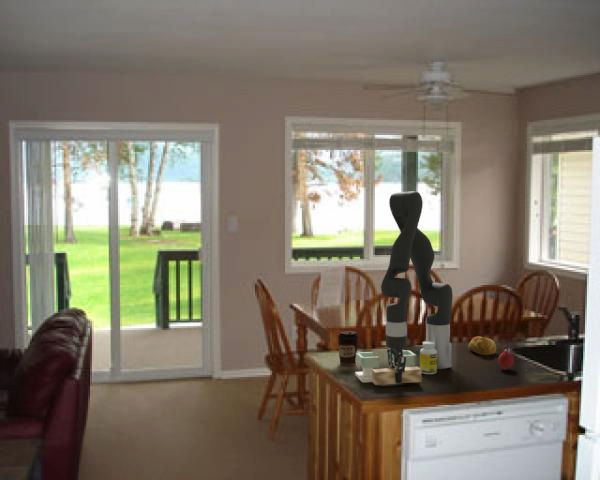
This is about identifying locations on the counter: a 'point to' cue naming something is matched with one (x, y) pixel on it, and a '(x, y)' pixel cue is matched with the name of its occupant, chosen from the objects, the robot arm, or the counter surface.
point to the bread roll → (482, 346)
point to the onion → (506, 360)
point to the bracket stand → (377, 363)
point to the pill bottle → (428, 358)
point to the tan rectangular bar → (389, 375)
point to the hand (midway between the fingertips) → (396, 380)
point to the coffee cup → (347, 347)
